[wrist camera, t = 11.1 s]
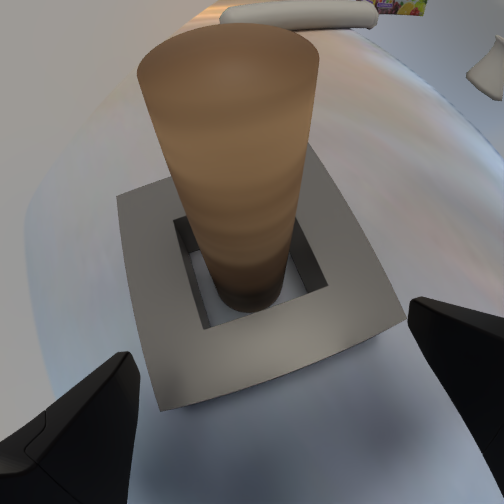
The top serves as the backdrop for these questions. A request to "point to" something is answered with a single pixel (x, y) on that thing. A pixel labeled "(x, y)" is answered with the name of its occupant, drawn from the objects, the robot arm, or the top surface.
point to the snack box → (399, 6)
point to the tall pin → (235, 145)
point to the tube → (305, 14)
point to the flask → (490, 72)
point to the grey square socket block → (260, 323)
